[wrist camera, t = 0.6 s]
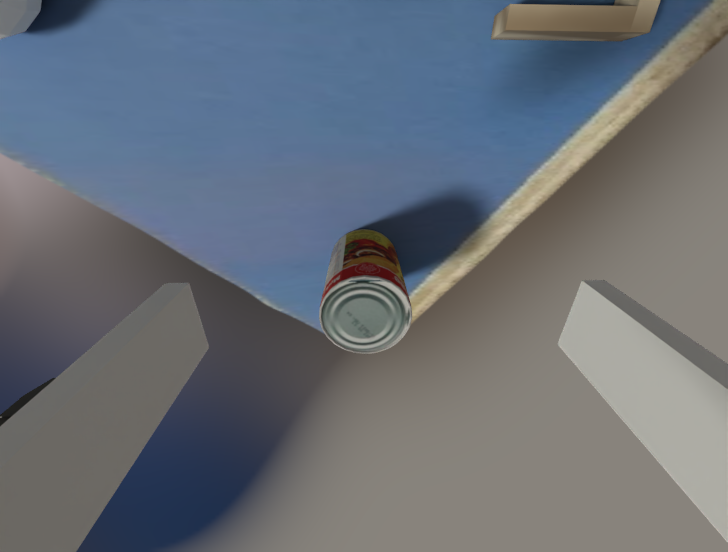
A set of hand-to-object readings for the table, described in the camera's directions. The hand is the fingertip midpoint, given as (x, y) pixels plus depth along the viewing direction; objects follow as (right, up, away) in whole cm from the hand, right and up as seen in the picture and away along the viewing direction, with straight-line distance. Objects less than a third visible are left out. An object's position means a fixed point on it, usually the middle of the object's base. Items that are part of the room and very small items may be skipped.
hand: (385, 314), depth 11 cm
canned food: (-1, +3, +26) cm, 26 cm away
